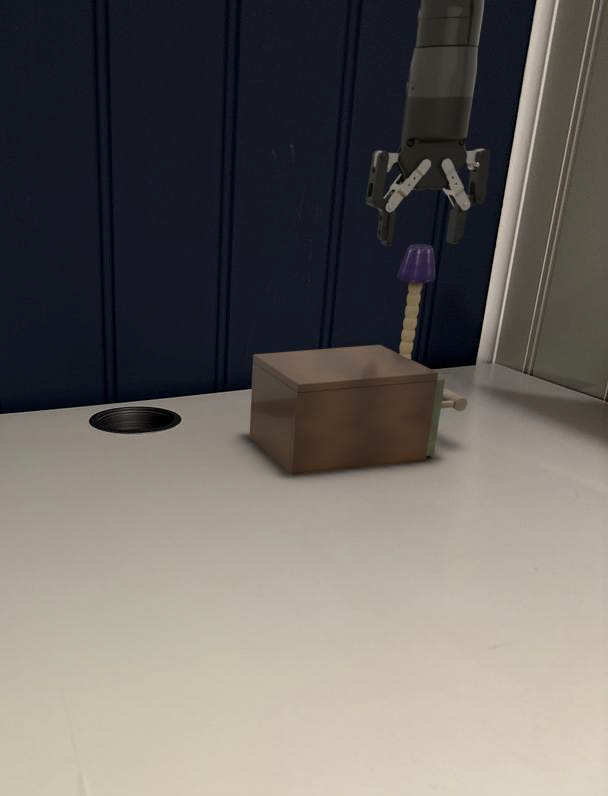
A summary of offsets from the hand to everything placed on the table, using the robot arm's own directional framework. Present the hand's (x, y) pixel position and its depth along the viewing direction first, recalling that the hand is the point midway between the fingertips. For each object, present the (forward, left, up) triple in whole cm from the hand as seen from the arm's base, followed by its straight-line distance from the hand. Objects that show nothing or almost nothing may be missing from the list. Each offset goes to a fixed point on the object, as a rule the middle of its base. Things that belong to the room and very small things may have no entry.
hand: (419, 243), depth 116 cm
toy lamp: (0, 0, -17) cm, 17 cm away
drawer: (+14, +27, -16) cm, 35 cm away
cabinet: (+18, +28, -17) cm, 37 cm away
